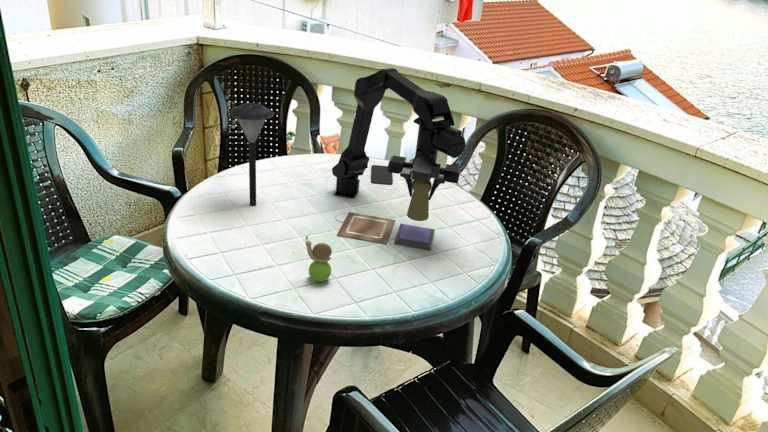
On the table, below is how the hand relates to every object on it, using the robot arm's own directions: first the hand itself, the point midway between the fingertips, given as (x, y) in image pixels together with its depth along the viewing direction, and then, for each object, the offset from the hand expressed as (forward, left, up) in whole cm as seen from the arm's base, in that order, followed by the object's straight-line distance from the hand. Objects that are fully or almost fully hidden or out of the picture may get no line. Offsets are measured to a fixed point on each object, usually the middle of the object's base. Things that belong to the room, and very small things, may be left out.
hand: (420, 197), depth 156 cm
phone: (-17, +39, -13) cm, 45 cm away
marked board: (-14, +1, -13) cm, 19 cm away
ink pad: (0, 0, -13) cm, 13 cm away
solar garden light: (-49, +3, -13) cm, 51 cm away
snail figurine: (-20, -28, -13) cm, 37 cm away
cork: (0, 0, -6) cm, 6 cm away
